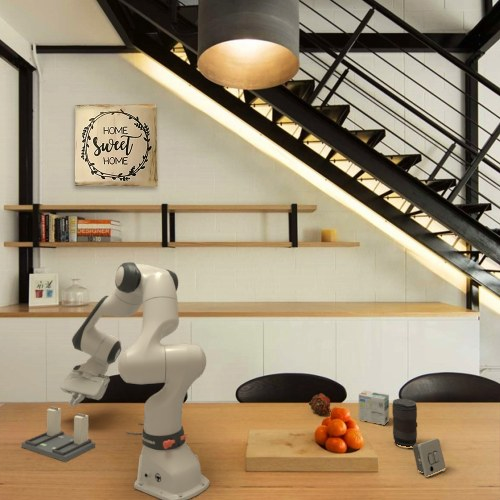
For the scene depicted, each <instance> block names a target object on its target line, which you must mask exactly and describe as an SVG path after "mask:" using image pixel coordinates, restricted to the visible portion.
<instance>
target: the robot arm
mask: <svg viewBox="0 0 500 500" xmlns="http://www.w3.org/2000/svg"><path fill="white" fill-rule="evenodd" d="M114 283H115V287H116V288H115V289H114V292H112V294H111V295H105V296H103V297H102V298H101V299H100V300H98V302H97V304H96V305H95V306H93V309H92V310H91V312H90V313H89V314H88V316H87V317H86V318H85V320H84V321H83V323H82V325H81V326H79V328H77V330H76V331H75V333H74V334H73V336H72V338H71V343H72V345H73V347H74V349H75V350H77V351H80V352H84V353H85V354H86V355H89V356H90V357H89V358H88V359H87V360H86V362H84V363H81V364H77V365H73V366H72V368H71V372H68V374H67V375H66V376H65V378H64V379H63V381H62V382H61V383H60V390H61V391H62V392H63V393H66V394H70V399H69V401H68V405H69V406H70V407H74V408H76V407H77V406H78V404H79V403H81V402H82V401H83V400H84V399H86V398H88V399H91V400H92V399H93V400H97V401H100V400H101V399H102V398H103V396H104V395H105V393H106V390H107V388H108V385H109V383H110V380H111V378H110V376H109V375H106V374H107V372H108V369H109V367H110V365H112V364H113V363H115V362H116V361H117V359H118V357H119V355H120V353H121V352H122V342H121V340H120V339H119V338H118V337H117V336H115V335H113V334H106V333H105V332H103V331H102V330H99V329H98V328H97V327H96V324H97V323H98V322H99V320H100V319H101V317H102V316H110V317H111V316H113V317H117V318H127V317H130V316H133V315H135V314H136V313H138V311H139V310H140V308H141V306H142V323H141V330H140V333H139V334H138V336H137V339H136V340H135V341H134V342H133V343H132V344H131V345H130V346H129V347H128V348H126V349H125V351H123V353H122V354H121V356H120V358H119V361H118V366H117V367H118V372H119V376H120V377H121V379H122V380H123V382H125V383H127V384H135V385H148V384H162V383H164V385H163V387H162V388H161V389H160V390H159V391H158V392H156V393H154V394H152V395H151V396H150V397H149V398H148V399H147V400H146V401H145V403H144V407H143V408H144V410H143V424H144V425H143V428H142V432H141V433H142V435H141V444H142V445H143V446H142V449H141V452H140V454H139V459H138V465H137V466H138V468H137V477H136V478H137V479H136V480H135V482H134V484H133V488H134V489H135V490H138V491H140V492H143V493H145V494H147V495H150V496H152V497H155V498H157V499H159V500H190V499H191V498H194V497H195V496H198V495H200V494H201V493H203V492H204V491H206V490H207V488H208V487H209V486H210V480H209V479H208V478H207V477H206V476H205V475H203V474H202V469H201V462H200V460H199V456H198V454H196V453H193V451H192V449H191V448H190V446H189V445H188V444H187V442H186V440H187V439H188V434H185V430H184V428H183V427H184V426H183V425H182V423H183V422H182V419H183V407H184V400H185V397H186V395H187V392H188V391H189V389H190V387H191V386H192V384H194V383H195V381H196V380H198V379H199V378H200V377H201V376H202V375H203V374H204V371H205V369H206V367H207V356H206V353H205V351H204V350H203V348H202V347H201V346H200V345H199V344H198V345H196V344H190V343H173V344H170V343H169V344H163V343H161V340H162V339H164V338H166V337H167V336H170V335H171V334H173V333H174V332H175V331H176V330H177V329H178V327H179V324H180V316H179V315H180V314H179V305H178V304H179V302H178V295H177V291H178V287H179V279H178V275H177V274H176V272H174V271H172V270H170V269H164V268H161V267H157V266H153V265H151V264H146V263H145V264H143V263H135V262H129V261H128V262H123V263H122V264H120V266H119V267H118V268H117V270H116V272H115V279H114Z"/></svg>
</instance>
